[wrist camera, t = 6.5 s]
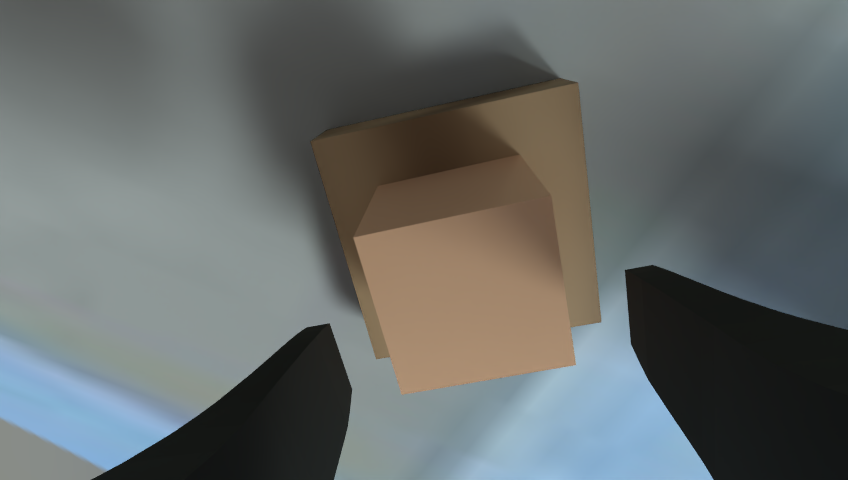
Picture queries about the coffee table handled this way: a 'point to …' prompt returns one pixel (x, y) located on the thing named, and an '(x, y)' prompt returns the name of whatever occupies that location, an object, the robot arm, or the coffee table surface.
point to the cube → (466, 275)
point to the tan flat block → (463, 146)
